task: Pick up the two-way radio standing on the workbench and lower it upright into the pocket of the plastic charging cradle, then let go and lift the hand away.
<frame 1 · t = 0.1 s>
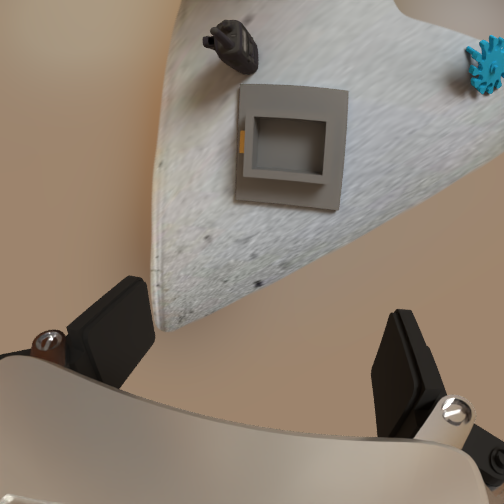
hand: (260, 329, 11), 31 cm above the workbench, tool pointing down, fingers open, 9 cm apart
charging cradle: (291, 144, 37), on the workbench
two-way radio: (243, 59, 34), on the workbench
blue branched piece: (481, 69, 26), on the workbench
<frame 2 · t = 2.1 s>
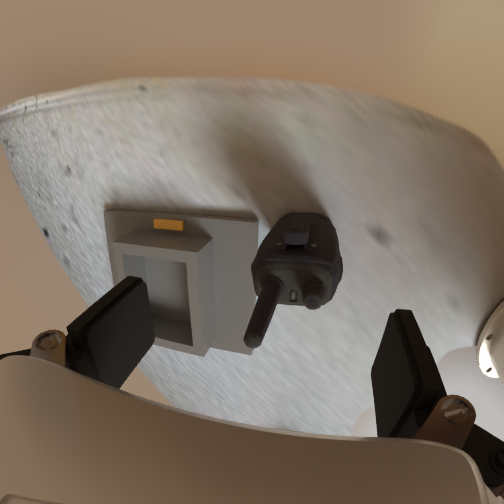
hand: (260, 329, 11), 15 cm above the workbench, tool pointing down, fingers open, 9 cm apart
charging cradle: (178, 280, 29), on the workbench
two-way radio: (305, 223, 25), on the workbench
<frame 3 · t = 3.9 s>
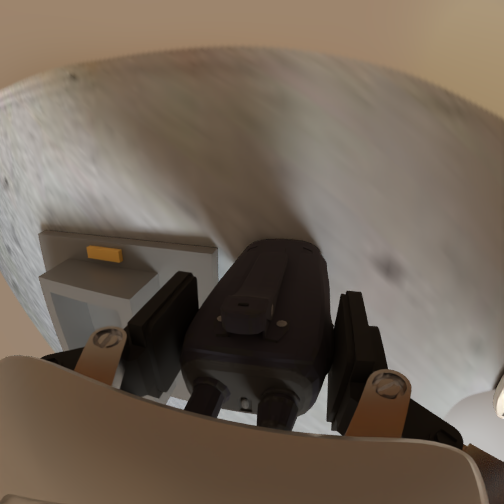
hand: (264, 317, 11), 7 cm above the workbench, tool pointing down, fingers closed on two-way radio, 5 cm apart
charging cradle: (126, 319, 22), on the workbench
two-way radio: (284, 253, 17), on the workbench, touching gripper
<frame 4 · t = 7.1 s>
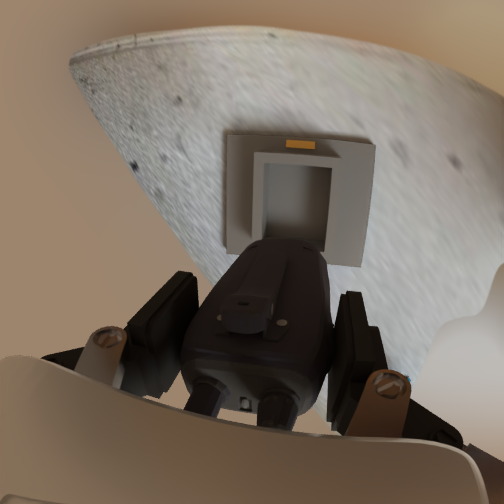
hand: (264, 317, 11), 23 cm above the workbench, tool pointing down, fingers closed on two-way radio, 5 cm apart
charging cradle: (298, 199, 33), on the workbench
two-way radio: (284, 252, 17), point 17 cm above the workbench, touching gripper
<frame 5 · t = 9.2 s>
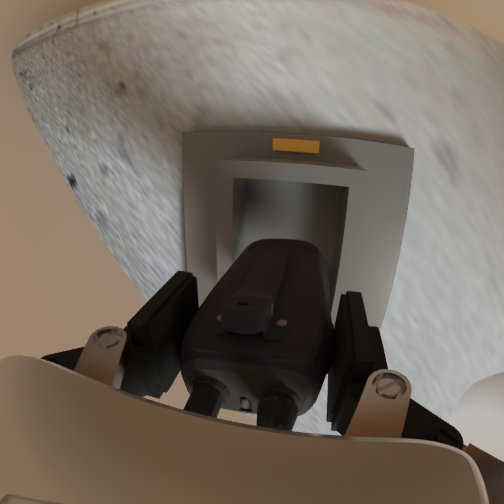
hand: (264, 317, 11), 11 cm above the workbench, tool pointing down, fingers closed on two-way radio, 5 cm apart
charging cradle: (292, 230, 22), on the workbench
two-way radio: (284, 253, 17), point 5 cm above the workbench, touching gripper
when the fingers open (9 cm above the workbench, at t = 10.6 s): two-way radio drops 1 cm, resting on charging cradle.
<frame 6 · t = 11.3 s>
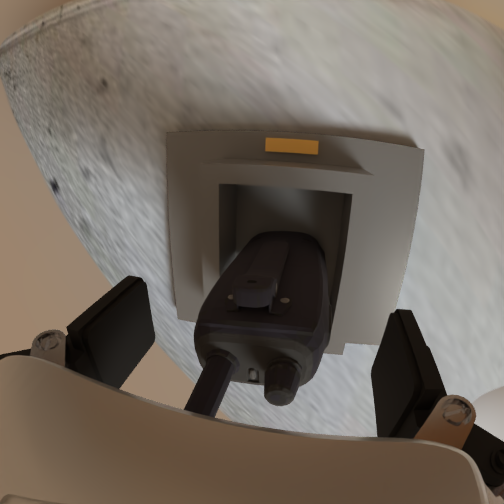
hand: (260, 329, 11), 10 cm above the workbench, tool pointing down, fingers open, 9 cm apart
charging cradle: (287, 240, 19), on the workbench
two-way radio: (285, 244, 19), point 1 cm above the workbench, touching charging cradle
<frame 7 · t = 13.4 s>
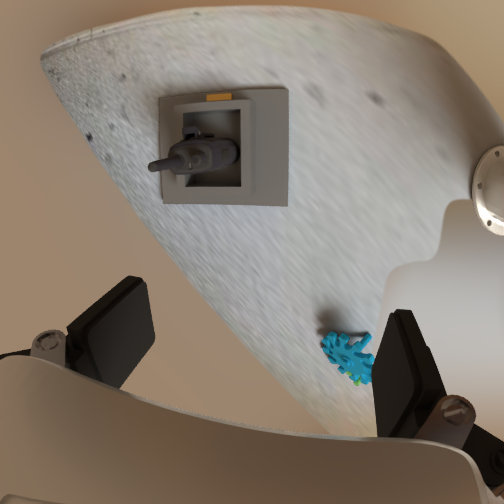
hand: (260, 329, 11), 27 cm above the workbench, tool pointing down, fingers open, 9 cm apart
charging cradle: (222, 147, 34), on the workbench
two-way radio: (220, 147, 34), point 1 cm above the workbench, touching charging cradle
blue branched piece: (348, 344, 42), on the workbench
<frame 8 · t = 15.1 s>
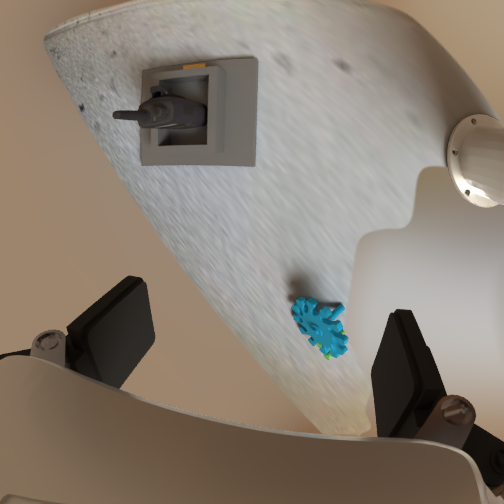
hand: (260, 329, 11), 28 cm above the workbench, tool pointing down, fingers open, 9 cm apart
charging cradle: (196, 112, 35), on the workbench
two-way radio: (193, 112, 34), point 1 cm above the workbench, touching charging cradle
blue branched piece: (320, 315, 42), on the workbench
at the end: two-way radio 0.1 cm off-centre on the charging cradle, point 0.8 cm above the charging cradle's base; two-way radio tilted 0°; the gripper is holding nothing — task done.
